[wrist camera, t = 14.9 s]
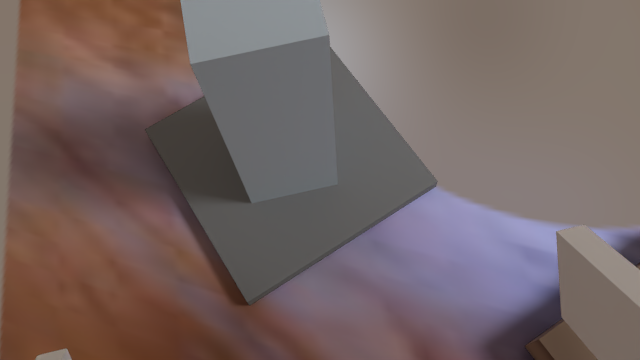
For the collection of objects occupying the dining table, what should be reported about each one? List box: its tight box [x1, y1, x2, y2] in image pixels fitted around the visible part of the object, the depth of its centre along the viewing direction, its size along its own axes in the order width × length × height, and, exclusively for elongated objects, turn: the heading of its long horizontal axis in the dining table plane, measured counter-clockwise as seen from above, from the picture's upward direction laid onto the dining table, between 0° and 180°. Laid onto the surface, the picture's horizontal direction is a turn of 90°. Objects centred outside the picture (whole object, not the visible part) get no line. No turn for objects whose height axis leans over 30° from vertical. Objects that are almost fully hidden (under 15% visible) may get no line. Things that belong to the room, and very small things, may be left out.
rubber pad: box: [145, 47, 437, 305], centre depth 28 cm, size 10×10×1 cm
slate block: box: [181, 0, 338, 203], centre depth 22 cm, size 4×4×11 cm
